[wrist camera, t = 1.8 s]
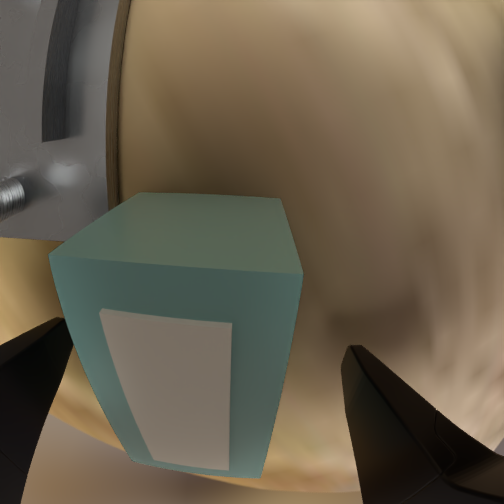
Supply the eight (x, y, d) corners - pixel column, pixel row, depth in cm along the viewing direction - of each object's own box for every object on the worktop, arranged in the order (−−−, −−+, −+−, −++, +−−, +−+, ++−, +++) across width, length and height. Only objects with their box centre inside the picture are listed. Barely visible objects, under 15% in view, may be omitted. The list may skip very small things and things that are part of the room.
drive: (280, 197, 9) (305, 278, 4) (260, 378, 12) (260, 481, 7) (140, 191, 9) (43, 258, 4) (161, 369, 12) (131, 464, 7)
